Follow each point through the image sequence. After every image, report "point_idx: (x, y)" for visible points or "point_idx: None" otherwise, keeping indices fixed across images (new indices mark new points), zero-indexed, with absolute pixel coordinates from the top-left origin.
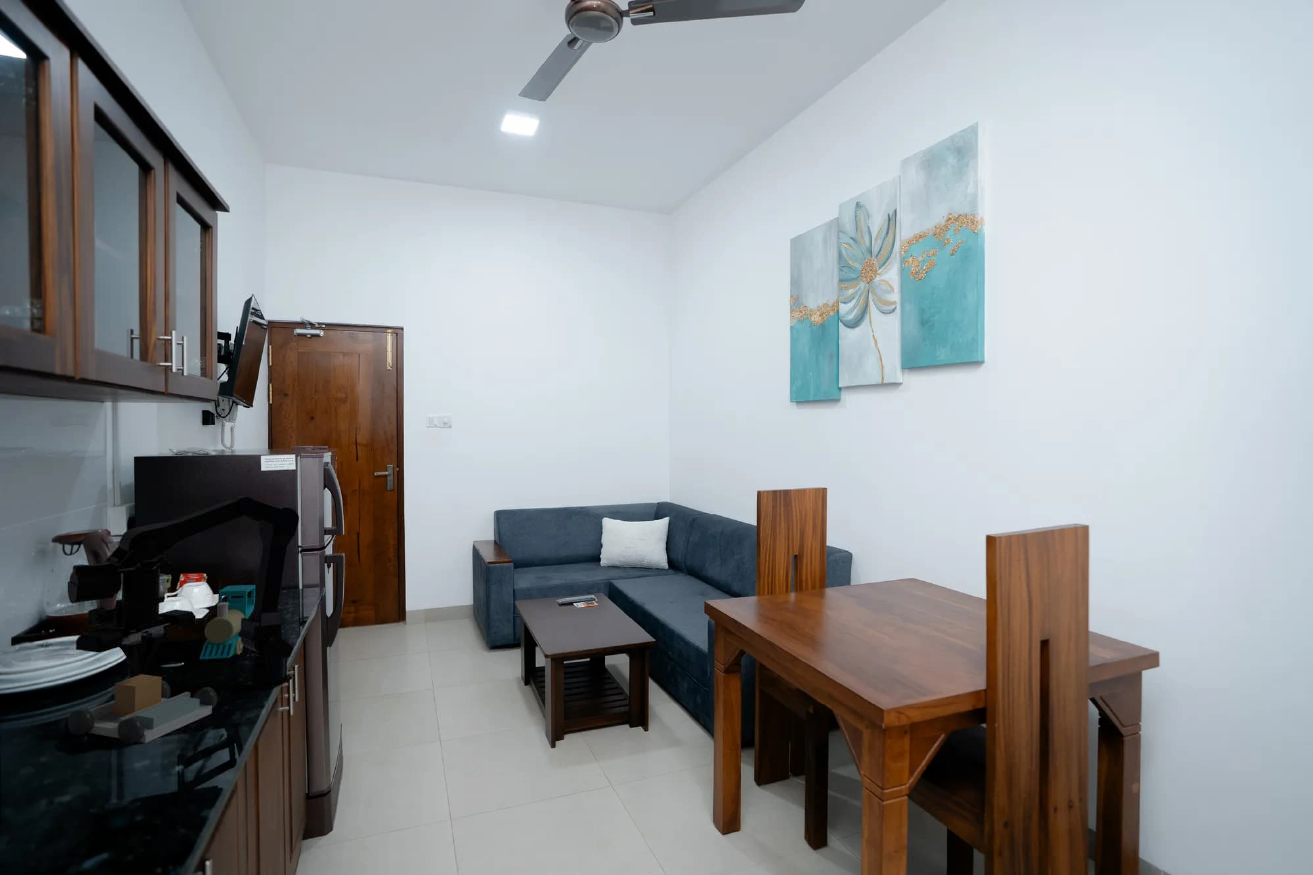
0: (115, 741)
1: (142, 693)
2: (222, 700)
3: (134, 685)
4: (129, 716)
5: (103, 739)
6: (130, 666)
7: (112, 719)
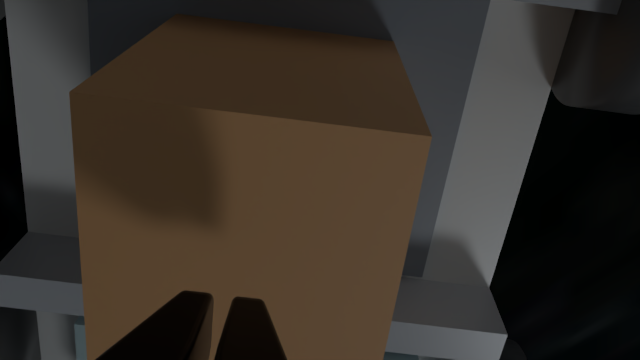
0: (19, 227)
1: None
2: (617, 353)
3: (105, 339)
4: (44, 309)
5: (9, 143)
6: (104, 352)
7: None
